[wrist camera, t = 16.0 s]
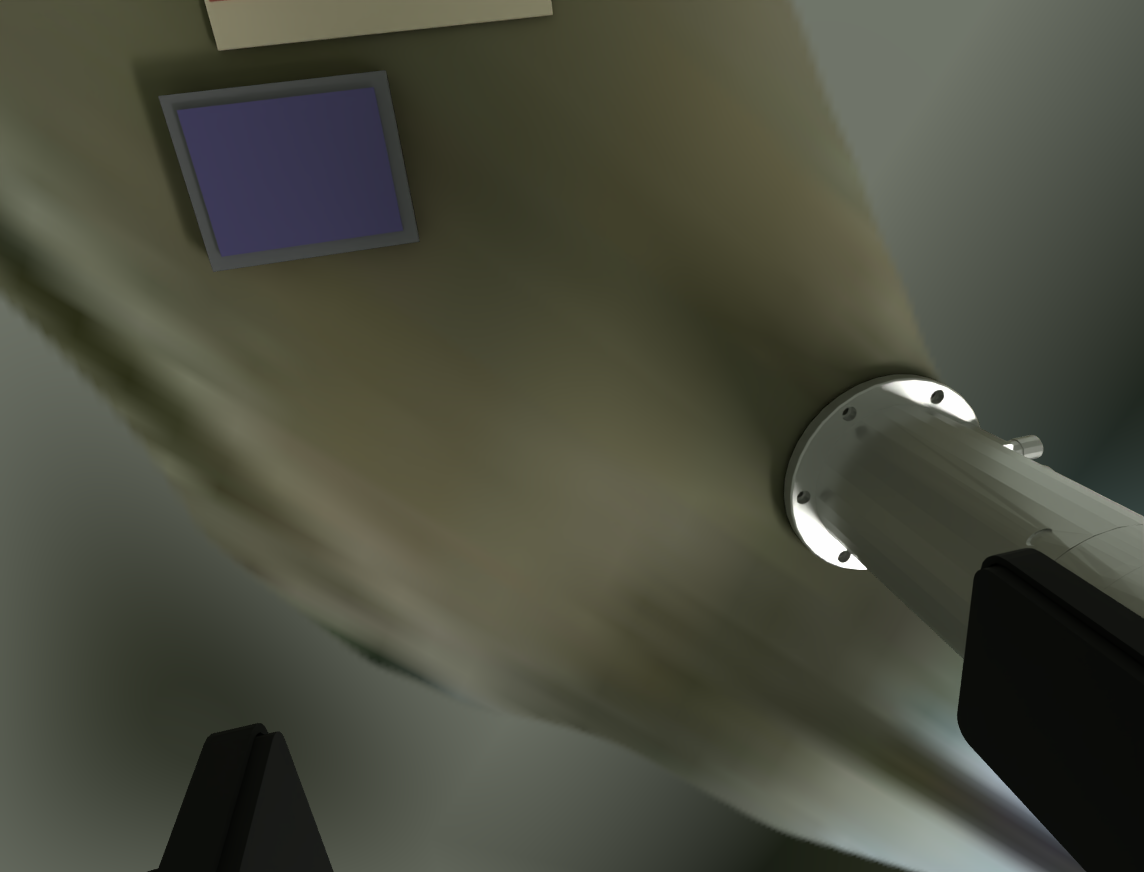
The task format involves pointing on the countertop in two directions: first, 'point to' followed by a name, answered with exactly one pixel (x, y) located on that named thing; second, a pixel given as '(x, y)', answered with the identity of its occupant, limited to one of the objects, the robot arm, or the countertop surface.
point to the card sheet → (350, 18)
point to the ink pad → (293, 168)
